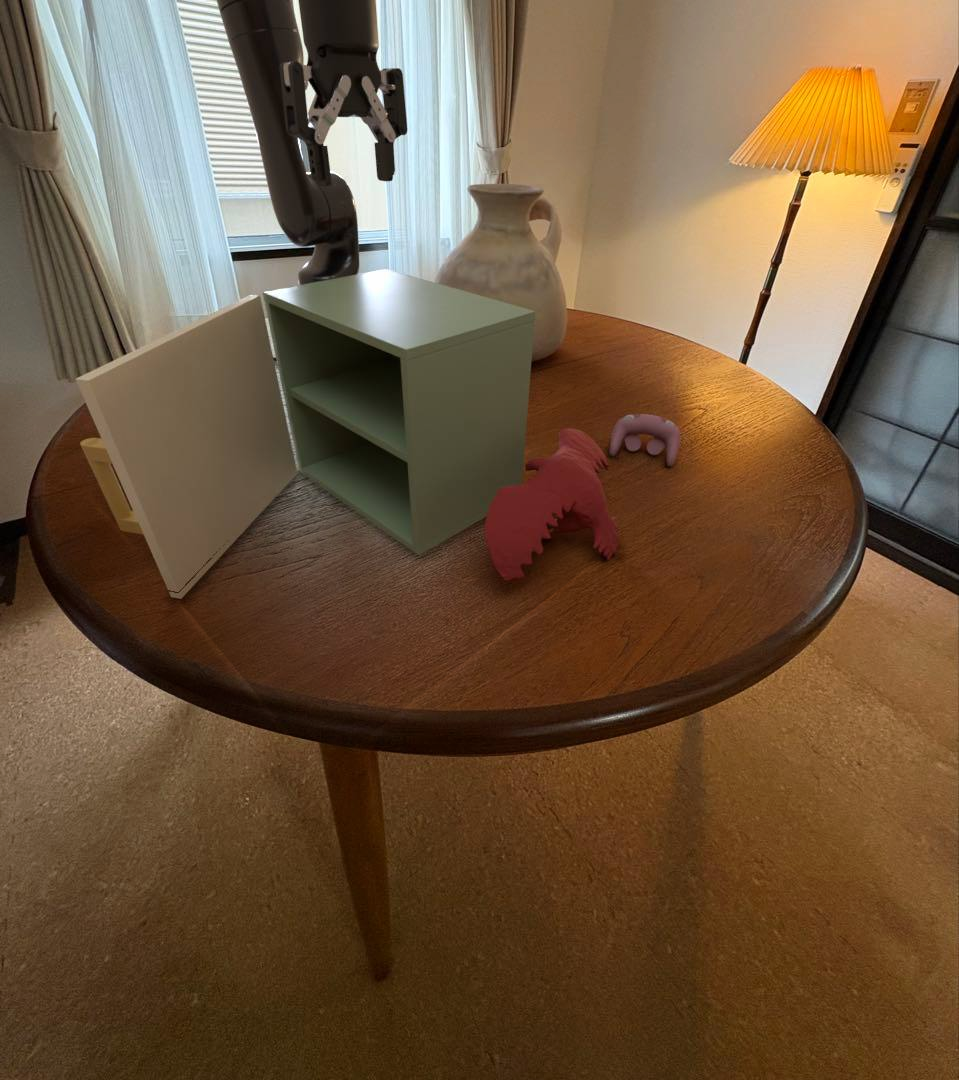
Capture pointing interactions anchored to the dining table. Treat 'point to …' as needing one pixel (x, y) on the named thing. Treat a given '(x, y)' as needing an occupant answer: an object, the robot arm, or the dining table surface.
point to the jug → (513, 259)
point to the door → (191, 438)
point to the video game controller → (648, 425)
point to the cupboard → (404, 397)
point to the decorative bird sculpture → (551, 505)
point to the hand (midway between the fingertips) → (355, 183)
